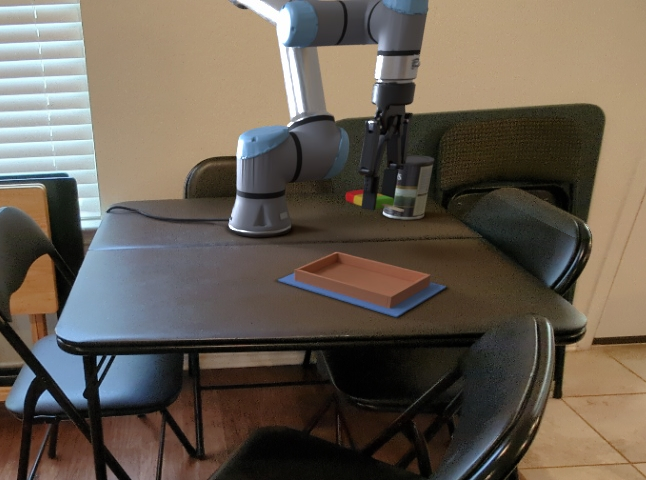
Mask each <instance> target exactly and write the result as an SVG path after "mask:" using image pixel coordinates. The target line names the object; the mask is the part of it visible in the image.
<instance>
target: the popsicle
mask: <svg viewBox="0 0 646 480" xmlns="http://www.w3.org/2000/svg"><path fill="white" fill-rule="evenodd" d="M363 190H364V189H357V190H350V191H347V192H346V193H345V201H346V202H347V203H348V202H349V203H351V204H354V205H357V206H359V207H361V206H362V198H363ZM393 204H394V199H393V198H391V197H388V196H385V195H382V194H381V193H379V192H378V193H377V201H376V208H375V210H380V209H384V208H386V207H387V208H390V209H393V210H396V211H399V212H404V210H403V209H400V208H397V207H394V206H393Z"/></svg>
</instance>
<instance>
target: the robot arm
mask: <svg viewBox="0 0 646 480" xmlns="http://www.w3.org/2000/svg"><path fill="white" fill-rule="evenodd" d="M228 1H229V3H231V4H232V5H233V6H235V7H236V8H238V9H240V10H250V11H251V12H253V13H254V14H256V15H257V16H258V17H261V18H262V19H263V20H265V21H266V22H267V23H269V24H271V25H272V26H273V27H275V30H276V36H277V43H278V50H279V55H280V61H281V62H280V63H281V67H282V69H281V70H282V74H283V81H284V89H285V92H286V101H287V106H288V112H289V119H290V120H289V122H288V123H287V125H282V124H281V125H279V124H277V125H276V124H275V125H266V126H260V127H254V128H252V129H249V130H246V131H244V132H243V133H241V135H240V136H239V137H238V139H237V149H236V154H235V156H236V198H235V200H234V204H233V206H232V211H231V214H230V217H229V218H221V217H220V218H219V217H218V218H176V217H166V216H159V215H155V214H151V213H148V212H145V211H143V210H141V209H138V208H132V207H128V206H123V205H114V206H111V207H109V208H107V210H106V211H105V213H110V212H111V211H112V210H117V209H119V210H125V211H129V212H136V213H140V214H142V215H143V216H145V217H148V218H152V219H155V220H162V221H168V222H169V221H170V222H183V223H184V222H185V223H186V222H188V223H189V222H193V223H194V222H200V223H202V222H207V223H208V222H228V231H230V232H231V233H233V234H235V235H238V236H242V237H247V238H248V237H249V238H273V237H278V236H283V235H285V234H288V233H289V232H290V231H291V230H292V220H291V219H292V218H291V216H290V213H289V209H288V204H287V201H286V200H287V199H286V186H287V184H295V183H303V182H304V183H306V182H314V181H318V182H321V181H323V180H329V179H333V178H336V177H338V176H339V175H340V173H341V172H342V171H343V169H344V168H345V167H346V163H347V161H348V158H349V153H350V138H349V135H348V132H347V131H346V129H344V128H343V127H341V126H337V125H336V119H335V115H334V114H332V113H331V112H329V111H327V103H326V98H325V91H324V84H323V77H322V72H321V66H320V58H319V52H318V48H320V47H337V46H338V47H339V46H343V47H344V46H367V45H368V46H369V45H371V46H373V45H377V51H376V60H375V67H374V74H373V79H374V80H376V82H374V84H373V85H372V90H371V91H372V92H371V104H372V105H374V106H376V110H375V113H374V116H373V118H366V119H365V121H364V131H365V132H364V137H363V143H362V148H361V149H362V150H361V156H360V161H359V166H358V173H359V175H360V176H364V183H363V189H362V190H363V198H362V206H360V208H361V209H364V210H368V211H369V210H370V211H375V210H376V209H375V208H376V201H377V193H378V194H379V187H380V186H379V185H380V178H381V176H380V175H378V174H379V171H380V167H381V164H382V161H383V157H384V154H385V150H386V167H387V168H384V169H383V176H382V185H381V191H380V194H382V195H385V196H388V197H391V198H393V199H394V197H395V191H396V184H397V177H398V171H399V170H398V169H400V170H403V169H404V167H405V165H404V164H405V163H406V157H407V155H408V148H409V139H410V131H411V130H410V129H411V123H412V119H413V115H414V114H413V112H407V111H406V106H410V105H412V104H413V103H414V101H415V100H414V98H415V94H416V93H415V92H416V86H417V85H416V83H415V82H414V80H415V79H417V77H418V70H419V67H421V61H420V57H421V51H422V46H423V42H424V35H425V29H426V28H425V27H426V23H427V17H428V13H429V0H228ZM401 157H402V158H401ZM402 164H403V165H402Z"/></svg>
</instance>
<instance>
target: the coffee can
mask: <svg viewBox="0 0 646 480" xmlns="http://www.w3.org/2000/svg"><path fill="white" fill-rule="evenodd" d="M401 158H402V157H401ZM434 163H435V158H434V157H431V156H428V155H421V154H407V157H406V163H405V164H404V165H405V167H404V169H403V170H400V169H398V170H399V171H398V177H397V184H396V191H395V197H394V204H393V206H394V207H397V208H400V209H403V210H404V212H399V211H396V210H393V209H390V208H387V207H386V208H383V210H382V215H383V216H384V217H387V218H390V219H393V220H394V219H395V220H403V221H413V220H420V219H422V218H424V217H425V212H426V205H427V201H428V194H429V187H430V182H431V177H432V172H433V167H434ZM402 165H403V164H402Z"/></svg>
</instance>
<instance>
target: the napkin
mask: <svg viewBox="0 0 646 480" xmlns="http://www.w3.org/2000/svg"><path fill="white" fill-rule="evenodd" d="M294 275H295V272H293V273H291V274H288V275H285V276H284V277H281V278H279V279H277V281H278V282H280V283H283V284H286V285H289V286H293V287H295V288H299V289H302V290H304V291H309V292H312V293H316V294H318V295H322V296H325V297H328V298H332V299H334V300H335V299H336V300H338V301H341V302H345V303H348V304H351V305H355V306H357V307H360V308H364V309H367V310H371V311H374V312H377V313H380V314H383V315H386V316H390V317H393V318H399V317H401V316H402V315H404V314H405V313H407V312H408V311H410V310H412V309H414V308H415V307H417V306H419V305H420V304H422V303H424V302H425V301H427V300H429V299H430V298H432V297H433V296H435V295H437V294H438V293H440V292H441V291H443V290H445V289H447V286H446V285H443V284H439V283H436V282H435V283H434V282H431V281H430V284H429V286H428V287H426V288H425V289H423V290H421V291H420V292H418V293H416V294H414V295H413V296H411V297H409V298H407V299H406V300H404V301H402V302H401V303H399V304H397V305H395V306H394V307H392V308H390V309H389V308H386V307H382V306H379V305H376V304H372V303H369V302H366V301H362V300H359V299H356V298H352V297H349V296H345V295H342V294H339V293H335V292H332V291H329V290H325V289H322V288H319V287H315V286H312V285H309V284H305V283H302V282H299V281H295V280H294Z"/></svg>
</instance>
